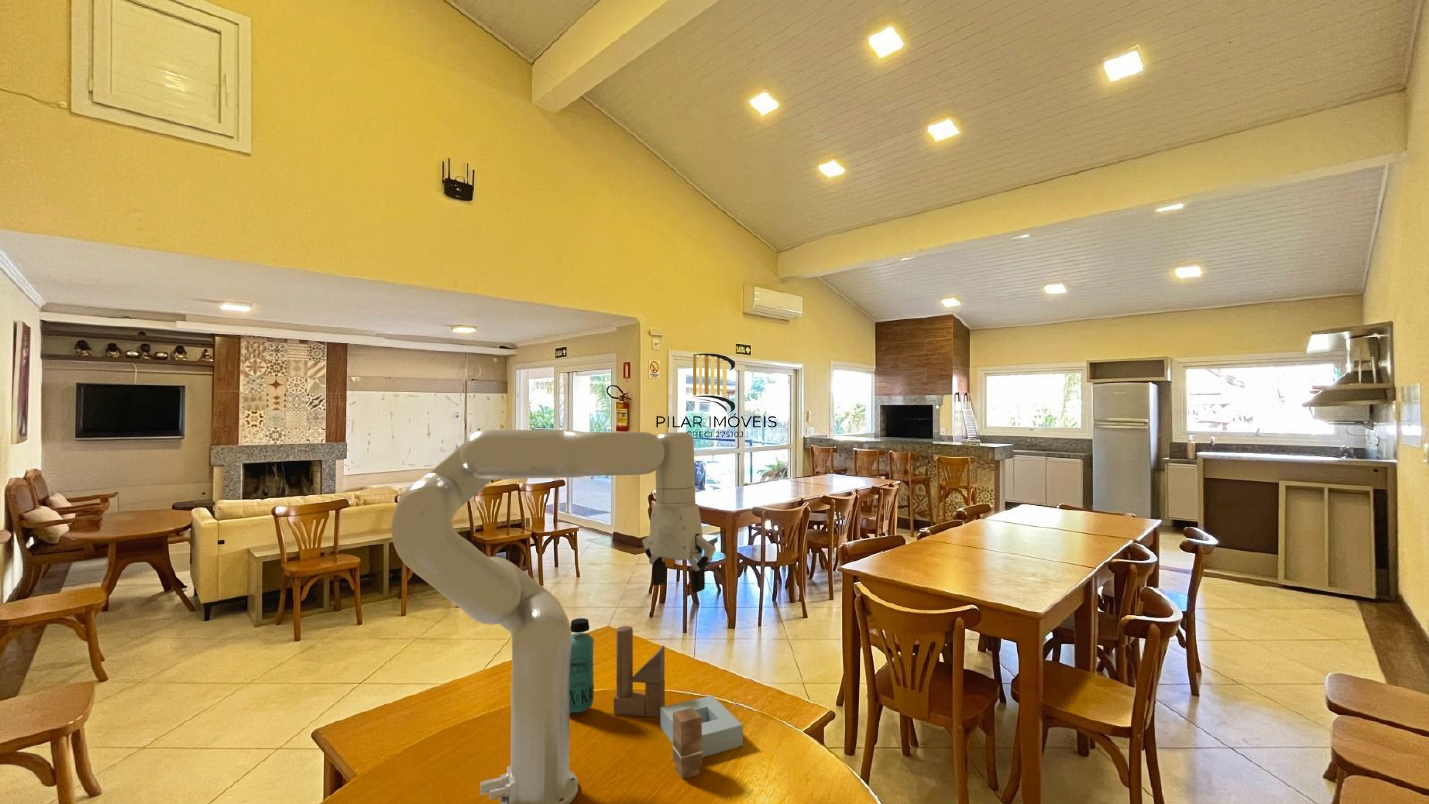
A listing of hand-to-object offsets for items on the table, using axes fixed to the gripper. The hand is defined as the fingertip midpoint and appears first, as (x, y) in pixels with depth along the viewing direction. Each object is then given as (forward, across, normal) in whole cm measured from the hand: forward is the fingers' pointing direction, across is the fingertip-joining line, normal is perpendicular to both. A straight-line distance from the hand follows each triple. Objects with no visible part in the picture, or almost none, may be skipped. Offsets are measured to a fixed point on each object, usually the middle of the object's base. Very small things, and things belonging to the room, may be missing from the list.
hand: (678, 587), depth 106 cm
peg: (+32, +3, -2) cm, 32 cm away
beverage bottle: (+32, -31, +1) cm, 44 cm away
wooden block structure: (+32, -20, +8) cm, 39 cm away
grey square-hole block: (+32, -3, +9) cm, 33 cm away
